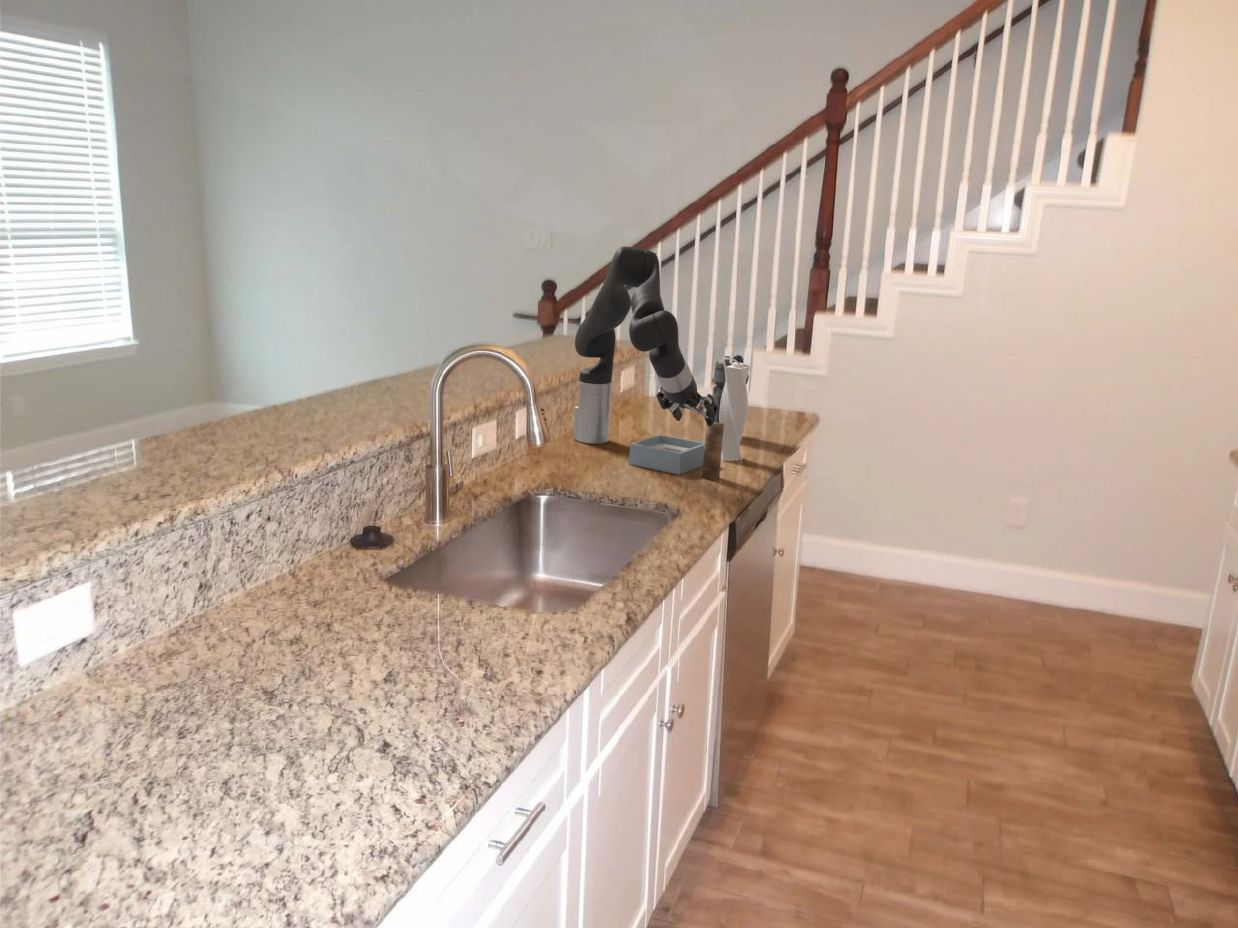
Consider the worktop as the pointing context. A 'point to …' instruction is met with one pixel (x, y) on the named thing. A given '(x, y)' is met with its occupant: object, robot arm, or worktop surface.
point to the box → (667, 454)
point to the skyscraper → (733, 409)
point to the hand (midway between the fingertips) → (695, 420)
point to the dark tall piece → (722, 381)
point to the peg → (712, 451)
